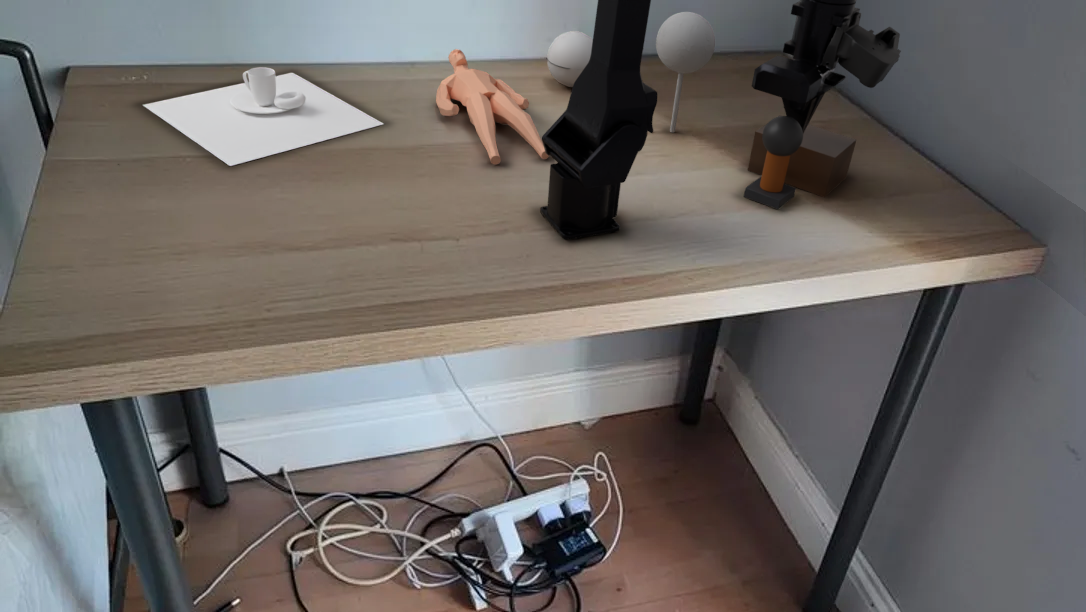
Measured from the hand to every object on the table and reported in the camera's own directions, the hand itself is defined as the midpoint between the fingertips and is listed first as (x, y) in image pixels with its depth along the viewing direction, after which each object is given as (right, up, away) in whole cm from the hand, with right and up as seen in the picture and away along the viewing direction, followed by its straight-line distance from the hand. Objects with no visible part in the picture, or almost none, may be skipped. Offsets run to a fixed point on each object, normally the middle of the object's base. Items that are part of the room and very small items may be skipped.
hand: (796, 135), depth 108 cm
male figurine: (-37, +4, +10) cm, 38 cm away
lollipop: (-13, +3, +13) cm, 19 cm away
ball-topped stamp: (-2, -6, +2) cm, 6 cm away
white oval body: (-26, +11, +22) cm, 35 cm away
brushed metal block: (+1, -3, +6) cm, 7 cm away
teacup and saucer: (-63, +3, +5) cm, 63 cm away
